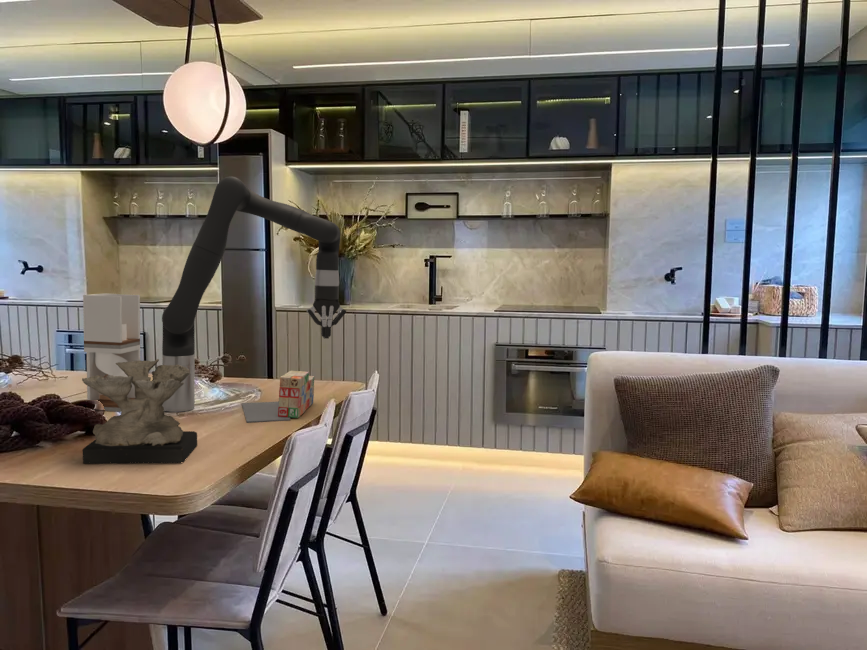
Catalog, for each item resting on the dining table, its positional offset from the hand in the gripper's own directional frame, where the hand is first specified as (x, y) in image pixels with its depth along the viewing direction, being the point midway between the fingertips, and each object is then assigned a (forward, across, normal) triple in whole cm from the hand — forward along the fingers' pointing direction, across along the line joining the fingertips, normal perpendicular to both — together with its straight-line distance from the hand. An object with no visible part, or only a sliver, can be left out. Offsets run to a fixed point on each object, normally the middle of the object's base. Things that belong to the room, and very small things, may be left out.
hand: (325, 338), depth 191 cm
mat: (+23, +19, 0) cm, 30 cm away
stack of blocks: (+23, +9, 0) cm, 25 cm away
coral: (+23, +51, +32) cm, 65 cm away
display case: (+23, +63, -16) cm, 69 cm away
